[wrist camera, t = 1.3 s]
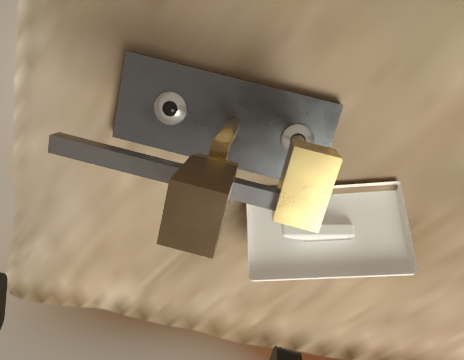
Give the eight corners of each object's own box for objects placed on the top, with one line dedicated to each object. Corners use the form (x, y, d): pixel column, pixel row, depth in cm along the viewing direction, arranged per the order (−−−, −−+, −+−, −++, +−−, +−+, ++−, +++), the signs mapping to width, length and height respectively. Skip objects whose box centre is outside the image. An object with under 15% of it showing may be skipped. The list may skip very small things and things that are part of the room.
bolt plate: (340, 104, 36) (344, 105, 35) (315, 185, 38) (317, 190, 37) (129, 51, 37) (123, 50, 35) (117, 134, 39) (110, 137, 37)
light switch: (252, 286, 39) (406, 280, 37) (248, 278, 35) (421, 271, 33) (249, 204, 42) (390, 195, 41) (245, 188, 38) (402, 177, 36)
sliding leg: (250, 123, 35) (234, 169, 19) (237, 174, 37) (212, 258, 20) (218, 115, 35) (174, 154, 19) (206, 166, 37) (156, 243, 21)
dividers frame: (318, 129, 35) (342, 158, 24) (303, 181, 37) (318, 233, 25) (119, 78, 36) (47, 83, 24) (111, 132, 37) (39, 160, 26)
